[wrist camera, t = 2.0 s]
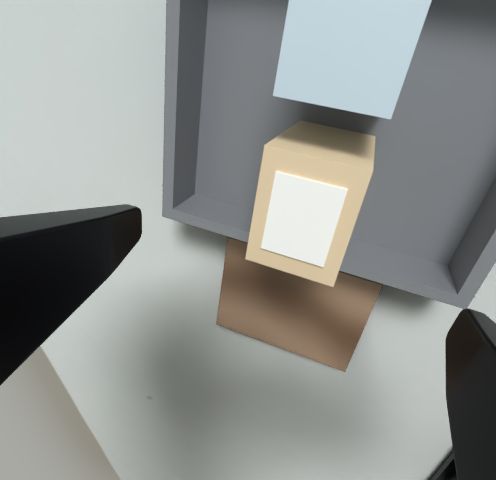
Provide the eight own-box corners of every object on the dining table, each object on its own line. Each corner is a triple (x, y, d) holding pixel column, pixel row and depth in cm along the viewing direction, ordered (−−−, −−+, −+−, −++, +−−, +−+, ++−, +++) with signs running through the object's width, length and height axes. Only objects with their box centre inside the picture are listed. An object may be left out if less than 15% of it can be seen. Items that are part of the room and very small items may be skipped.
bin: (453, 274, 17) (466, 309, 15) (188, 198, 21) (162, 216, 18) (638, -59, 11) (717, -98, 8) (206, -92, 14) (169, -126, 12)
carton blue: (387, 101, 15) (390, 119, 9) (308, 86, 15) (272, 95, 10) (430, -30, 12) (465, -97, 7) (335, -40, 13) (306, -106, 8)
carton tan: (346, 223, 18) (332, 288, 12) (282, 206, 18) (244, 260, 13) (375, 136, 15) (373, 171, 10) (300, 120, 16) (263, 145, 11)
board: (346, 362, 22) (345, 371, 21) (220, 316, 24) (216, 323, 23) (382, 277, 19) (382, 285, 18) (232, 232, 21) (227, 237, 20)
